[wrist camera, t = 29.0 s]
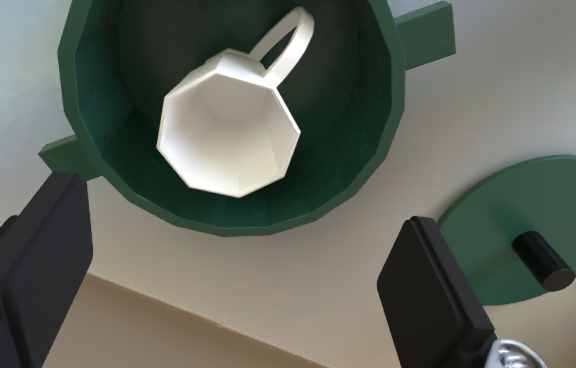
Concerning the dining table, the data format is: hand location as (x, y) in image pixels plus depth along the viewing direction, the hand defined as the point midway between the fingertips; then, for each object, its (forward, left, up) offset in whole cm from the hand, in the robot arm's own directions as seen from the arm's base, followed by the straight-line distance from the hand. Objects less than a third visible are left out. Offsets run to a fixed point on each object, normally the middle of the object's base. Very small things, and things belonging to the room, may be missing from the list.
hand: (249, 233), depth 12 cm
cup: (0, 0, -17) cm, 17 cm away
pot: (0, 0, -17) cm, 17 cm away
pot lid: (+11, +27, -16) cm, 33 cm away
